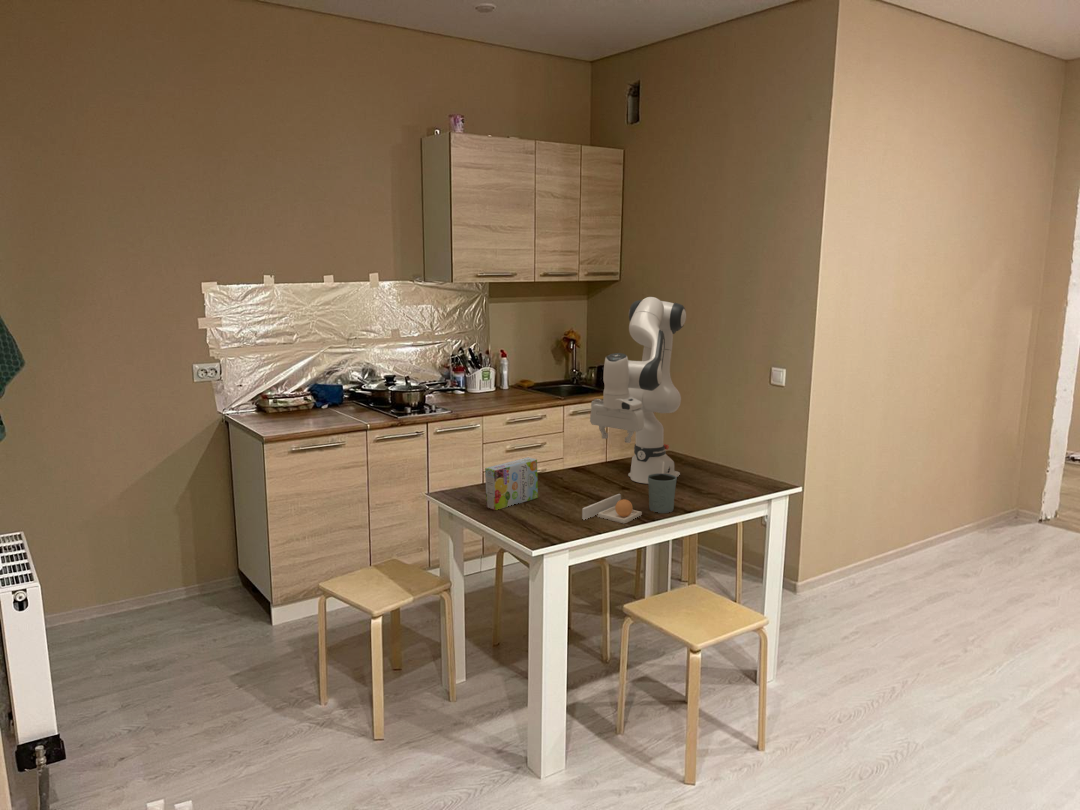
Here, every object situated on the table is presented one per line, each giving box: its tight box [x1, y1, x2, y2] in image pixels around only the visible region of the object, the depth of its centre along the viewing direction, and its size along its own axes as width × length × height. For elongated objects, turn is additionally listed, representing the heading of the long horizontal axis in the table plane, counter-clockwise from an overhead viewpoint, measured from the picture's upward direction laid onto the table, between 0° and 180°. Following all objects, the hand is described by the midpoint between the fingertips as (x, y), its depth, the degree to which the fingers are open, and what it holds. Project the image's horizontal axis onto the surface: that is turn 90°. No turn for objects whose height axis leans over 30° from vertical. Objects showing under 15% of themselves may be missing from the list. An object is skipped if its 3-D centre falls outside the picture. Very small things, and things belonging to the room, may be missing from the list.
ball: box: [615, 498, 634, 517], centre depth 278 cm, size 6×6×6 cm
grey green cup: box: [647, 474, 678, 514], centre depth 286 cm, size 10×10×12 cm
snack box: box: [484, 457, 539, 511], centre depth 294 cm, size 21×6×15 cm, turn 134°
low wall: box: [581, 493, 622, 521], centre depth 284 cm, size 22×1×4 cm, turn 141°
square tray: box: [597, 506, 643, 525], centre depth 280 cm, size 11×11×1 cm
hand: (616, 440), depth 280 cm, fingers open, 8 cm apart
